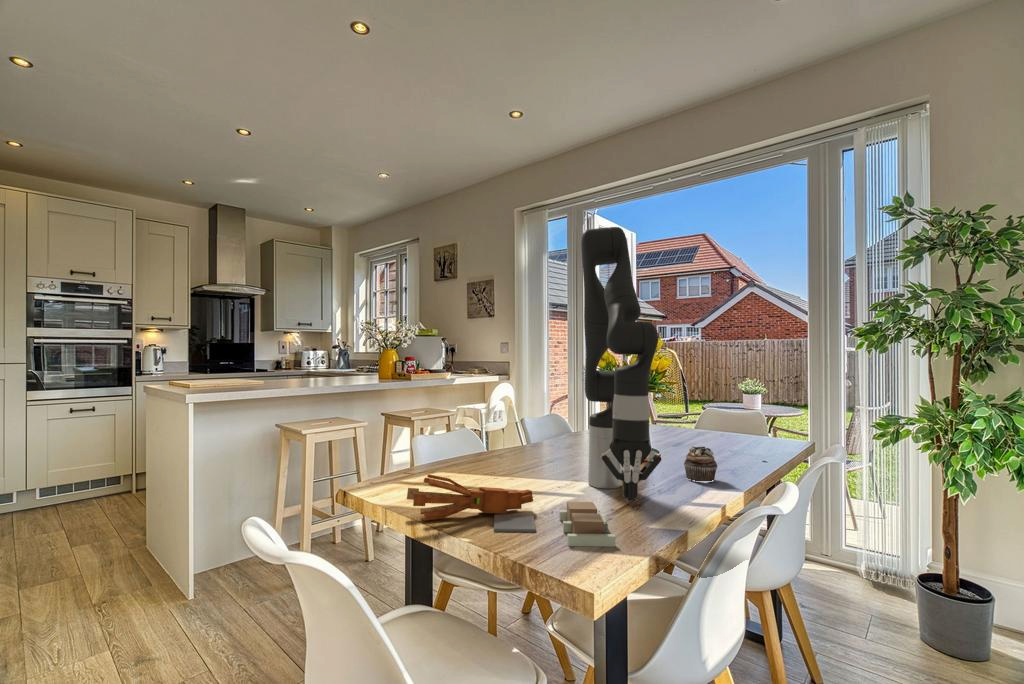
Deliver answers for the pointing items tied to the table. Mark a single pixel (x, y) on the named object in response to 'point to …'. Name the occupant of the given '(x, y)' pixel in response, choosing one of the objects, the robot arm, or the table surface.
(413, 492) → the toy
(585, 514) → the block
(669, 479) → the table surface
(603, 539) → the rack
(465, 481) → the table surface
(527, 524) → the pad
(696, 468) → the cupcake
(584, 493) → the table surface
